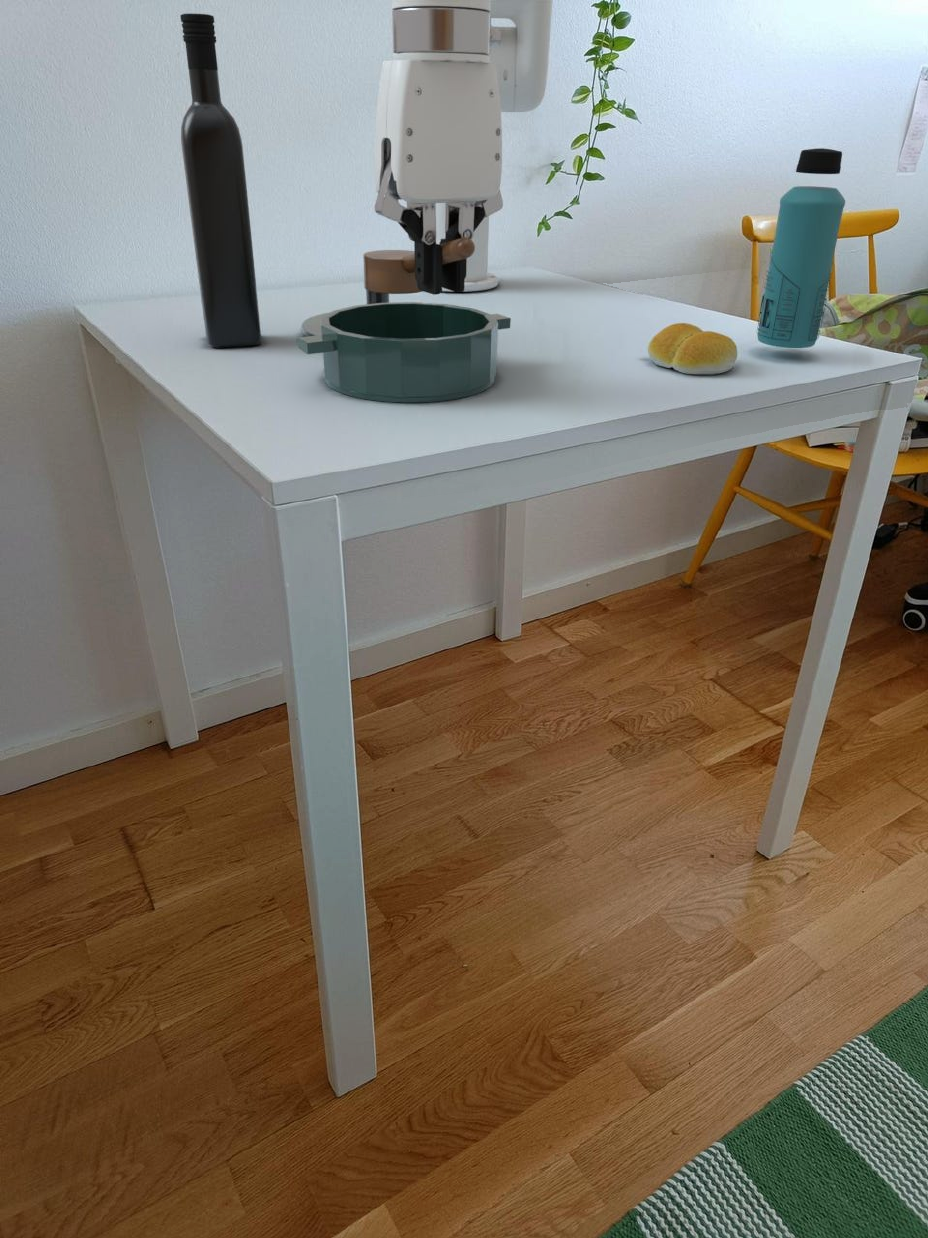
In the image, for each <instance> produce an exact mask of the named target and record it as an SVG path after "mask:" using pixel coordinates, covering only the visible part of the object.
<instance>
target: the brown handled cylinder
mask: <svg viewBox="0 0 928 1238" xmlns="http://www.w3.org/2000/svg"><path fill="white" fill-rule="evenodd" d="M440 245H441V247H442V265H443V264H447V263H451V262H454V261H458V260H462V259H465V258H469V257H471V256H472V255H473V253H474V251H475V245H474V242H473V241H472V240H471V239H470V238H467V237H463V238H460V239H457V240H453V241H450V242H447V243H444V244H440ZM362 257H363V258H362V259H363V281H364V282H363V283H364V289H365V291H366V290H368V291H372V292H376V293H385V294H389V295H407V294H408V295H409V294H417V293H421V292H423V291H421V290H419V289H418V286H417V281H416V279H415V256H414V250H409V249H408V250H407V249H381V250H371V251H367V252H365V253H363V255H362Z"/></svg>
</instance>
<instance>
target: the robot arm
mask: <svg viewBox="0 0 928 1238" xmlns="http://www.w3.org/2000/svg"><path fill="white" fill-rule="evenodd" d="M391 10H392V11H391V17H392V18H391V19H392V60H383V61H382V66H381V73H380V78H379V85H378V92H377V100H376V110H375V111H376V114H375V125H374V126H375V128H374V152H373V153H374V156H373V157H374V159H373V160H374V161H373V163H374V165H373V167H374V168H373V169H374V170H373V172H374V175H373V176H374V185H375V190H376V193H377V197H376V199H375V204H374V212H375V214H377V215H379V216H381V217H384V218H386V219H388V220H390V221H393V222H396V223H398V224H399V226H400V227H401V228H402V230H404V232H405V233H406V234H407V237H408V239H409V240H410V241H412V242H413V243H414V245H413V247H414V249H413V251H414V256H415V279H416V281H417V286H418V289H419V290H421V291H422V292H424V293H427V294H431V295H433V296H435V295H440V294H441V293H442V292H449V293H450V292H453V293H466V292H480V291H486V290H487V291H488V290H491V289H495V288H496V287H497V286H498V284H499V277H498V276H497V275H496V274H493V273H491V272H488V269H489V268H488V267H489V234H490V233H489V232H490V231H489V229H490V216H491V215H493V214H495V213H497V212H499V211H500V210H501V209H503V206H504V201H503V197H502V193H501V189H500V188H501V183H502V170H503V123H502V113H527V112H532V111H534V110H536V109H537V108H538V107H539V106H540V105H541V103H542V102H543V100H544V97H545V94H546V89H547V81H548V74H549V61H550V60H549V59H550V42H551V29H552V28H551V27H552V16H553V15H552V14H553V0H391ZM492 19H508V20H510V21H511V22H512V23H513V24H514V25H515V26H493V25H492ZM399 200H402V201H404V202H406V207H405V206H403V205H402V204H400V202H399ZM463 237H467V238H470V239H471V240H472V241H473V242H474V245H475V251H474V253H473V255H472V256H471V257H469V258H465V259H462V260H458V261H454V262H451V263H447V264H443V265H442V247H441V245H440V244H444V243H447V242H450V241H453V240H457V239H460V238H463Z"/></svg>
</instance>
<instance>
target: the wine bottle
mask: <svg viewBox="0 0 928 1238" xmlns="http://www.w3.org/2000/svg"><path fill="white" fill-rule="evenodd" d="M180 22H181V27H182V34H183V35H182V40H183V42H184V43H185V52H186V61H187V69H188V75H189V84H190V93H191V105H190V106H189V107H188V109H187V111H186V112H185V114H184V116H183V118H182V122H181V125H180V143H181V153H182V159H183V168H184V175H185V182H186V191H187V198H188V208H189V213H190V214H189V215H190V221H191V230H192V238H193V245H194V253H195V261H196V269H197V277H198V284H199V292H200V299H201V307H202V315H203V322H204V323H203V325H204V331H205V336H206V339H207V340H206V341H207V344H208V345H209V346H210V347H212V348H215V349H224V348H239V347H240V348H241V347H255V346H258V345H260V344H261V343H262V331H261V321H260V310H259V300H258V290H257V289H258V288H257V280H256V269H255V259H254V249H253V248H254V247H253V240H252V239H253V238H252V228H251V219H250V208H249V197H248V188H247V177H246V168H245V167H246V166H245V156H244V146H243V140H242V135H241V131H240V128H239V125H238V123H237V122H236V120H235V118H234V117H233V115H232V114H231V113H230V111H229V110H228V109H227V108H226V107H225V106H224V104H223V103H222V102H223V101H222V99H221V97H222V96H221V87H220V78H219V70H218V69H219V68H218V59H217V51H216V43H217V36H215V35H216V30H215V25H214V24H215V17H214V15H212V14H207V13H182V14H180Z"/></svg>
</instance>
